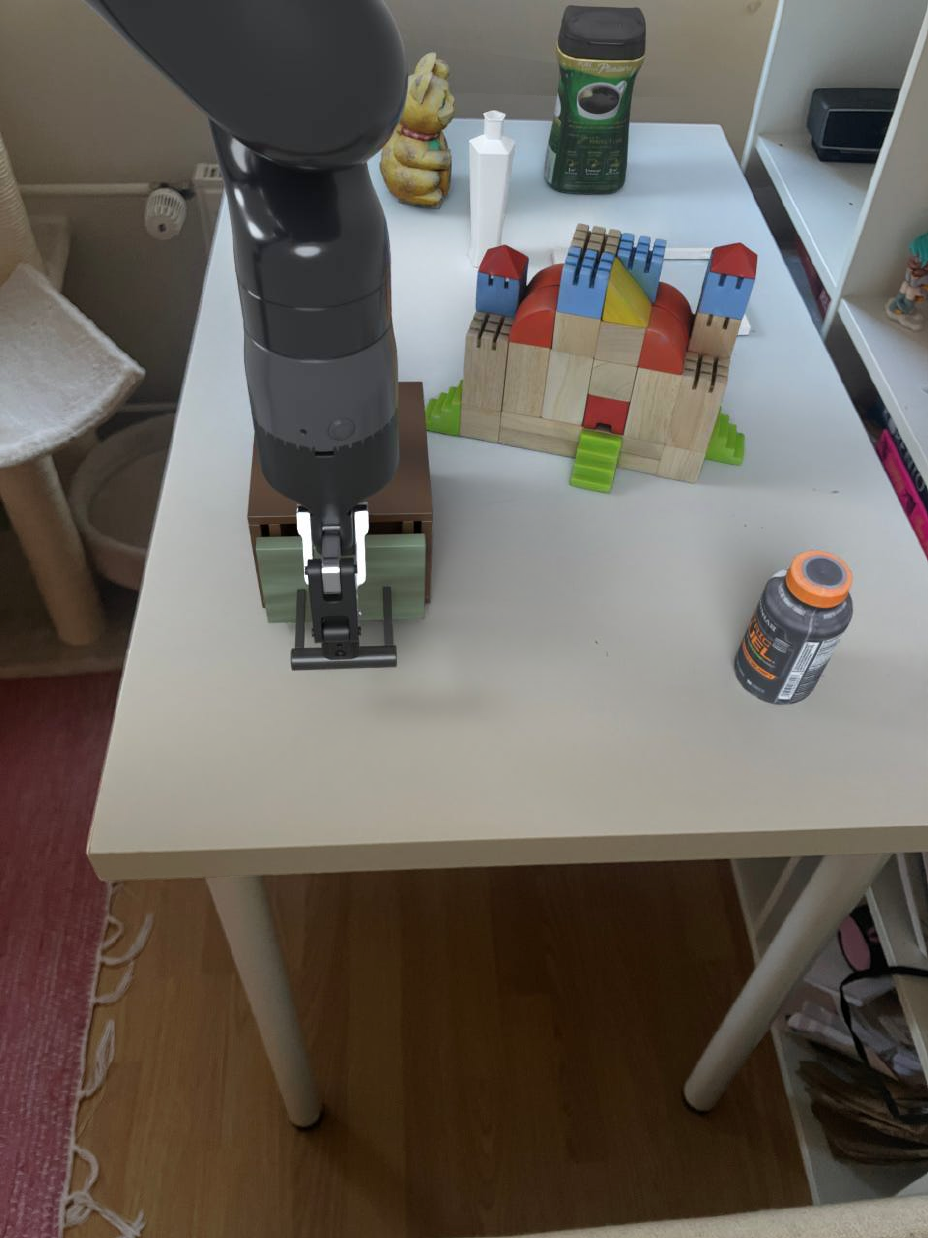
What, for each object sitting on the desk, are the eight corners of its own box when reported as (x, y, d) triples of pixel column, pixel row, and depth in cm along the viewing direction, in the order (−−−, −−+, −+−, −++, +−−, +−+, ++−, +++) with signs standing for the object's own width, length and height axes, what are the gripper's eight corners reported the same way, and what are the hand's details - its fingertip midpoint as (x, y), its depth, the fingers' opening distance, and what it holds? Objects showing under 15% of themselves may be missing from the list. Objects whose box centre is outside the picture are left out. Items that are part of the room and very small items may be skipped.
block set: (409, 454, 87) (410, 250, 72) (449, 360, 96) (458, 160, 81) (735, 520, 84) (807, 319, 69) (745, 415, 92) (811, 218, 78)
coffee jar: (619, 166, 122) (647, -5, 108) (627, 198, 117) (658, 25, 103) (539, 163, 122) (557, -8, 107) (544, 196, 117) (564, 21, 102)
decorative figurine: (451, 220, 112) (456, 79, 101) (377, 216, 112) (374, 74, 100) (452, 177, 118) (457, 40, 107) (382, 174, 118) (380, 36, 106)
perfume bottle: (513, 266, 107) (526, 122, 95) (475, 272, 106) (483, 128, 94) (498, 244, 109) (509, 102, 98) (460, 250, 108) (466, 106, 97)
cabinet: (430, 603, 76) (433, 513, 69) (262, 608, 75) (246, 516, 68) (421, 473, 85) (422, 380, 78) (271, 475, 84) (258, 382, 77)
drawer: (429, 693, 70) (431, 622, 64) (263, 699, 69) (249, 627, 63) (415, 492, 83) (416, 417, 77) (275, 495, 82) (265, 419, 76)
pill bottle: (719, 649, 75) (761, 543, 66) (792, 636, 76) (842, 531, 67) (753, 714, 71) (801, 611, 62) (828, 700, 72) (886, 597, 63)
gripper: (257, 313, 55) (286, 522, 68) (240, 492, 46) (277, 696, 59) (394, 311, 56) (397, 520, 68) (403, 488, 47) (405, 691, 59)
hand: (341, 601), depth 63 cm, fingers open, 8 cm apart
